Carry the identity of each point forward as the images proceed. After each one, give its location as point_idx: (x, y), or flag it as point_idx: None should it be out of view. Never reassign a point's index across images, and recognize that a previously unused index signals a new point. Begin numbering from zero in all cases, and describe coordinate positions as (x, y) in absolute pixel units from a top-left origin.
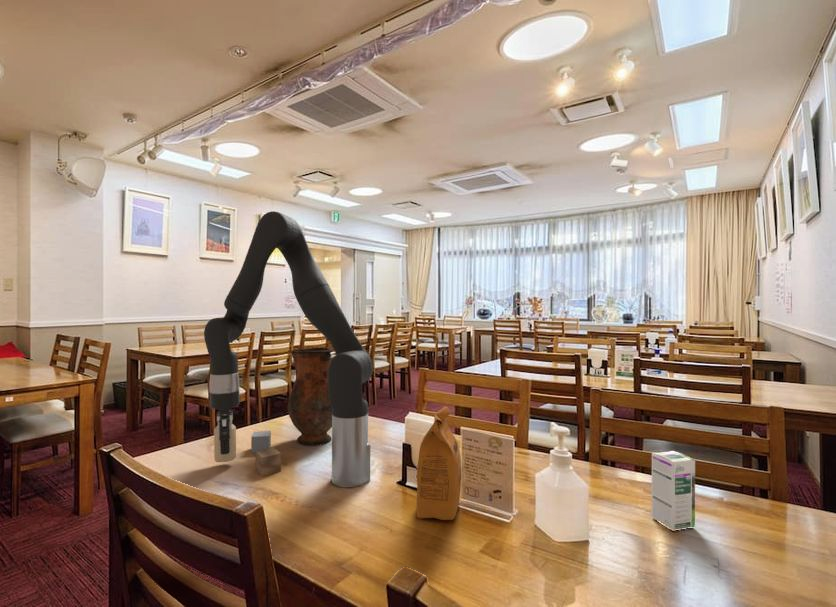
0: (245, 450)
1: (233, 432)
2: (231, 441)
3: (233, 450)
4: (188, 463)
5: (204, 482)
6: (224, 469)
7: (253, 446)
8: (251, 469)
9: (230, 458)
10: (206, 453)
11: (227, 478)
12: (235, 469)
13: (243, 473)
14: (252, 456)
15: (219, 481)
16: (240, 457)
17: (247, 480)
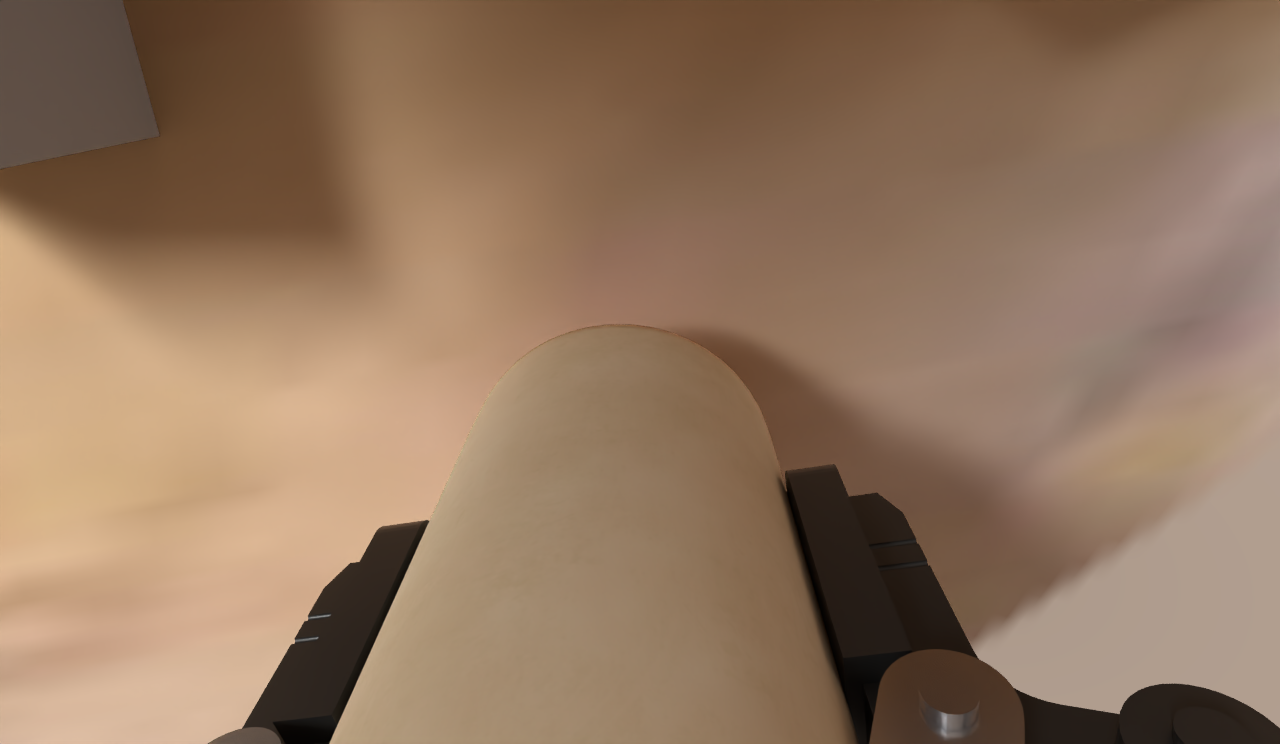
0: (50, 248)
1: (756, 721)
2: (777, 566)
3: (715, 414)
4: None
5: (1057, 520)
6: None
7: (65, 111)
8: (856, 19)
9: (746, 393)
10: (205, 660)
11: (1057, 307)
12: (782, 262)
13: (971, 123)
14: (300, 93)
15: (1108, 380)
16: (339, 272)
17: (1273, 14)
